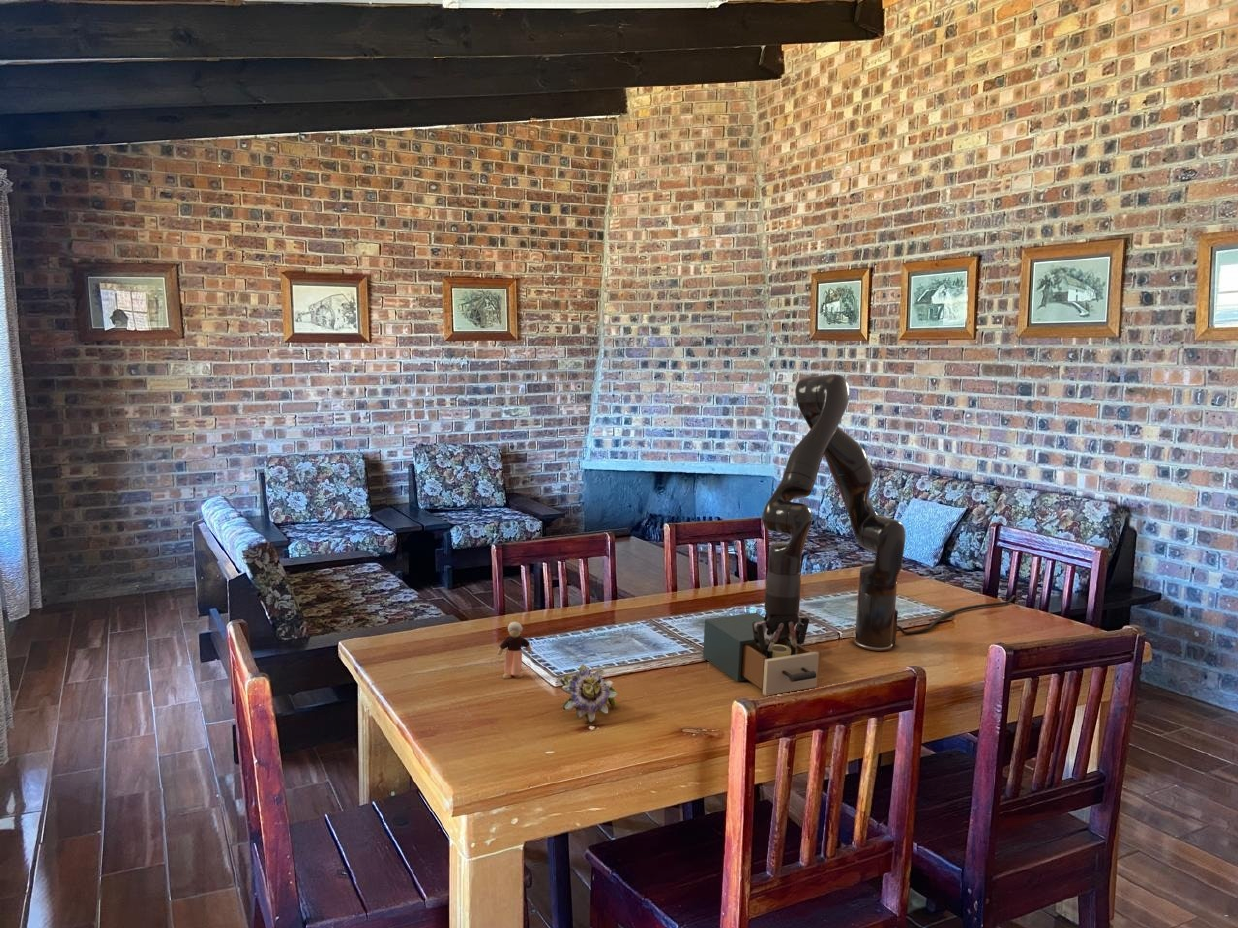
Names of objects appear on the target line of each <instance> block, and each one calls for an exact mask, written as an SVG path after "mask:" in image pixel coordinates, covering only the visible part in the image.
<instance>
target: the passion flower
mask: <svg viewBox="0 0 1238 928" xmlns="http://www.w3.org/2000/svg"><path fill="white" fill-rule="evenodd" d="M604 673H605V672H604V669H603V668H600V669H599V670H596V671H595V672H592V671H591V669H588V667H587V665H585V664H583V663H582V664H581V665H580V666H579V671H578V672H576V674H575V675H572V676H571V675H568V674H565V675H564V676H563V678H564V679H563V678H560V680H559V682H560V683H561V685H562V686H560V689H561V690H562V691H563V692H565V693H566V694H569V698H568V699H567V700H566V701H565V702H564V703H563V705H562V710H564V711H568V710H571V709H573V708H574V709H575V714H576V717H577V719H578V720H581V719H582V718H583V717H585V718H586V719H587V721H588V722H589V723H593V722H594V721H595V718H596V713H597V712H598V711H599V712H601V714H604V715H607V714H609V706H611V708H612V709H614V708H615V706H616V699H615V698H617V696H618V692H616V690H615V689H614V687H613V685H614V682H613V681H612V680H606V679H604V678H603V676H604ZM608 704H609V706H608Z"/></svg>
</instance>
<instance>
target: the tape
mask: <svg viewBox="0 0 1238 928" xmlns="http://www.w3.org/2000/svg"><path fill="white" fill-rule="evenodd" d="M772 651H773V653H772V658H777V657H784V656H790V655H791V648H789V647H788V646H785V645H779V644H775V645H774V646H773V649H772Z"/></svg>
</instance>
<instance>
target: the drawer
mask: <svg viewBox="0 0 1238 928" xmlns="http://www.w3.org/2000/svg"><path fill="white" fill-rule="evenodd" d="M775 644H779V645H785V646H786V645H788V644H787V642H786V638H782V639H778V640H777V642H775V643H774V645H775ZM762 653H763V650H762V649H760V648H759V647H757V646H756V645H755V643H748V644H743V646H742V664H741V675H742V676H743V677H745V678H746V679H748V680H747V681H748V682H751V683H752V684H753V685H754V686H756V687H758V688H759V689H760V690H762V695H763V696H766V697H767V696H773V695H778V694H784V693H789V692H794V691H795V692H796V691H800V690H805V689H811V688H816V687H817V685H818V671H819V656H820V653H819V652H818V651H810V650H809V649H807V648H805V647H803V645H802V646H800V645H797V647H796V650H795V655H790V656H784V657H777V658H771V659H767V657H766V656H764V655H762Z"/></svg>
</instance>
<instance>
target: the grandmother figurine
mask: <svg viewBox="0 0 1238 928" xmlns="http://www.w3.org/2000/svg"><path fill="white" fill-rule="evenodd" d="M507 632H508V635H509V636H507V637H505V639H504V640H503V641H502V642H501V643H500V644H499V648H498V650H497V652H496V655H498V656H500V655H502V653H503V651H504V650H505V649H506V652H505V657H504V658H505V659H504V671H503V672H504V673H503V675H502V679H508V680H509V679H511V678H512V676H513V677H514V678H517V679H519V678H522V677H523V673H522V665H523V649H522V647H524V648H526V651H527V652H528V653H531V652H532V651H533V650H532V649H533V648H532V647H531V644H530V643H531V642H530V641H528V640H527V639H526V638H525V637H522V636H520V635H521V633H522V632H523V626H522V624H521V623H519V622H518V621H516V620H515V621H511V622H509V624H508V626H507Z"/></svg>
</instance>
